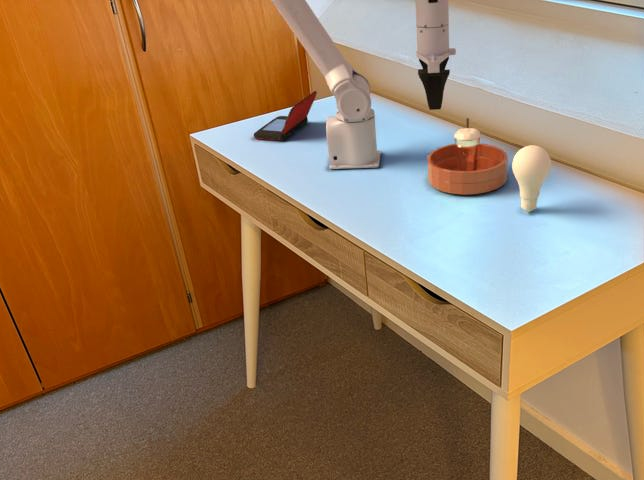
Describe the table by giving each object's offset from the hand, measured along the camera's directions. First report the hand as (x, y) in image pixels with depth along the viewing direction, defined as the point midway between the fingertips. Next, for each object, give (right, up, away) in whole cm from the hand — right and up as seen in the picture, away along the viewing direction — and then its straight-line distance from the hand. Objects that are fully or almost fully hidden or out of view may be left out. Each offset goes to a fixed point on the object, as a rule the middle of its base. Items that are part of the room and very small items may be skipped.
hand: (435, 102), depth 135 cm
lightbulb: (+15, -24, -15) cm, 32 cm away
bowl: (+6, -16, -4) cm, 17 cm away
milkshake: (+6, -15, -4) cm, 17 cm away
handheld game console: (-31, +1, +22) cm, 38 cm away
